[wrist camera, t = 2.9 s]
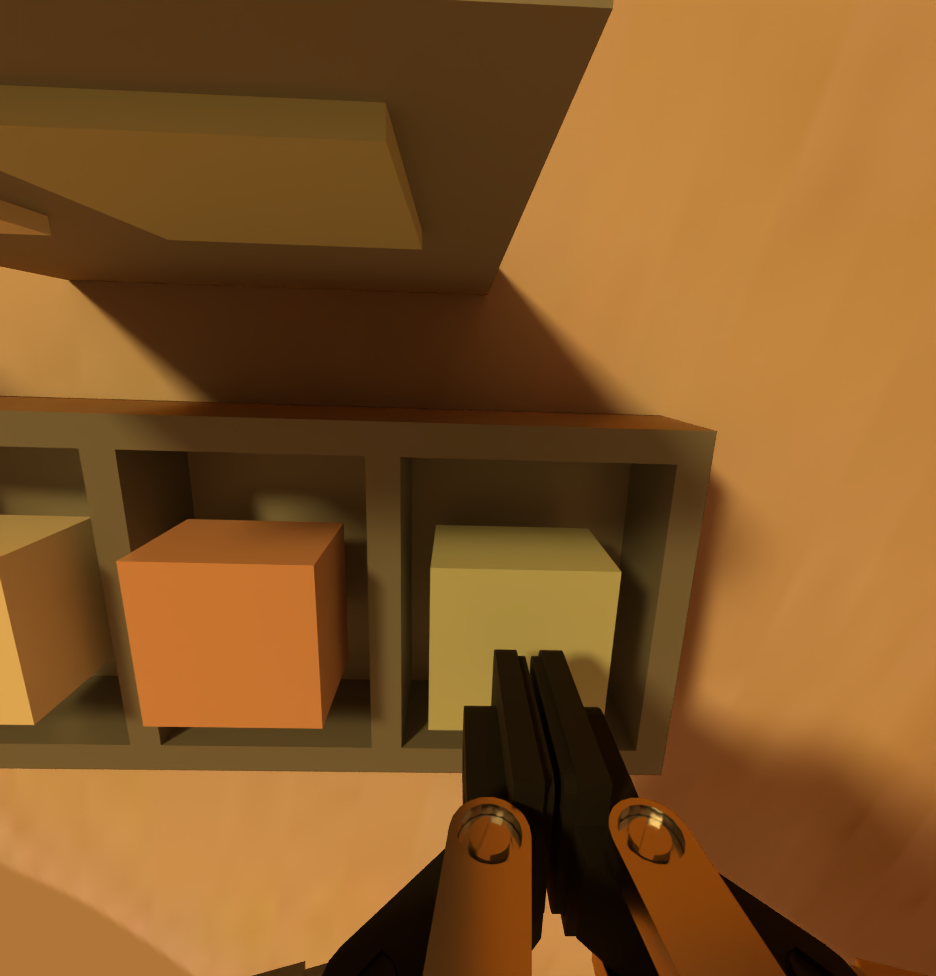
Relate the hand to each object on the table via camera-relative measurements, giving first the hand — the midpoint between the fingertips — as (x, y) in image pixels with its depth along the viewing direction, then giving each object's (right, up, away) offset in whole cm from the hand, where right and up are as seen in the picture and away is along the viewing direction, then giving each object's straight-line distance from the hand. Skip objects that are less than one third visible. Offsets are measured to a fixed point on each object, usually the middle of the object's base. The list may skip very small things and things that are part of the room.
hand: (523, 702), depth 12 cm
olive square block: (0, +1, +5) cm, 5 cm away
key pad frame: (-8, +2, +7) cm, 11 cm away
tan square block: (-16, +2, +4) cm, 17 cm away
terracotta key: (-8, +2, +5) cm, 9 cm away
